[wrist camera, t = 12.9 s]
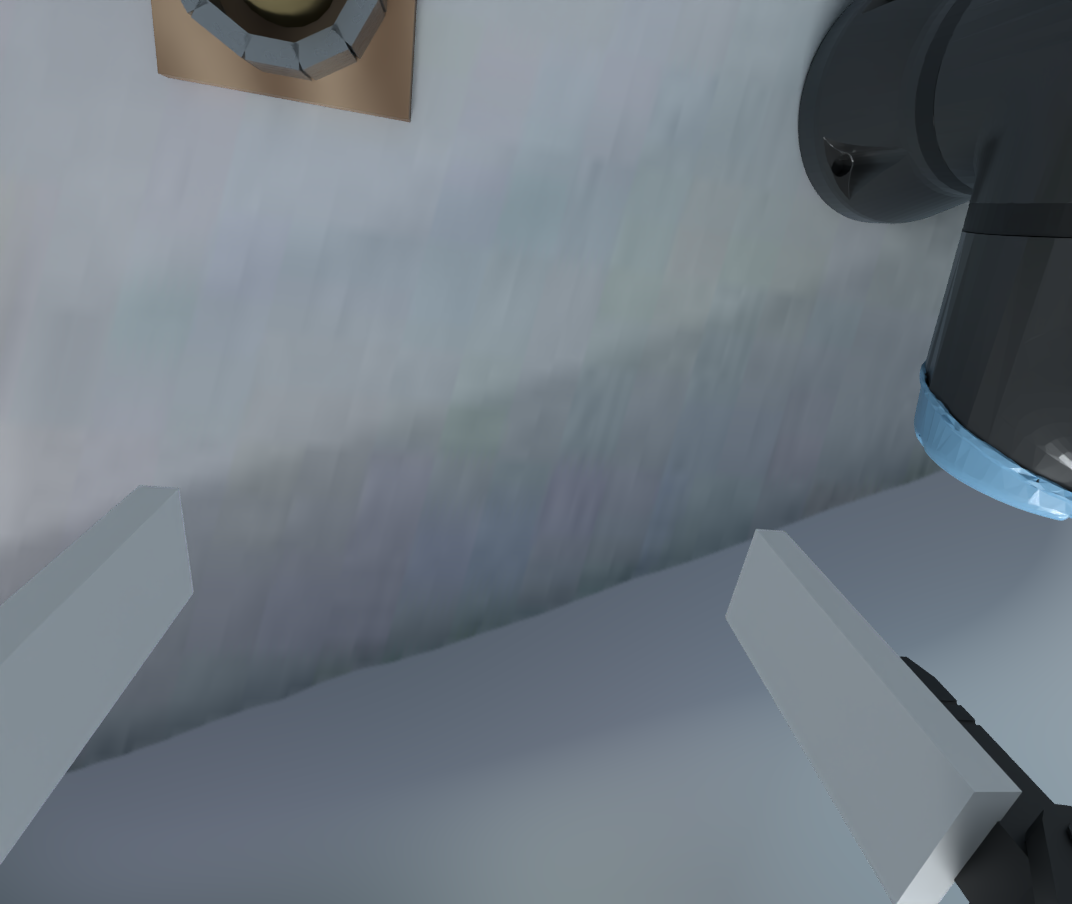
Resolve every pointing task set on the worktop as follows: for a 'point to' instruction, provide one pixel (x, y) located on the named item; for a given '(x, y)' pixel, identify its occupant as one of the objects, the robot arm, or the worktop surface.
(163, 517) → the robot arm
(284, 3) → the cork
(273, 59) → the steel collar
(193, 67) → the walnut board
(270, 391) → the worktop surface
